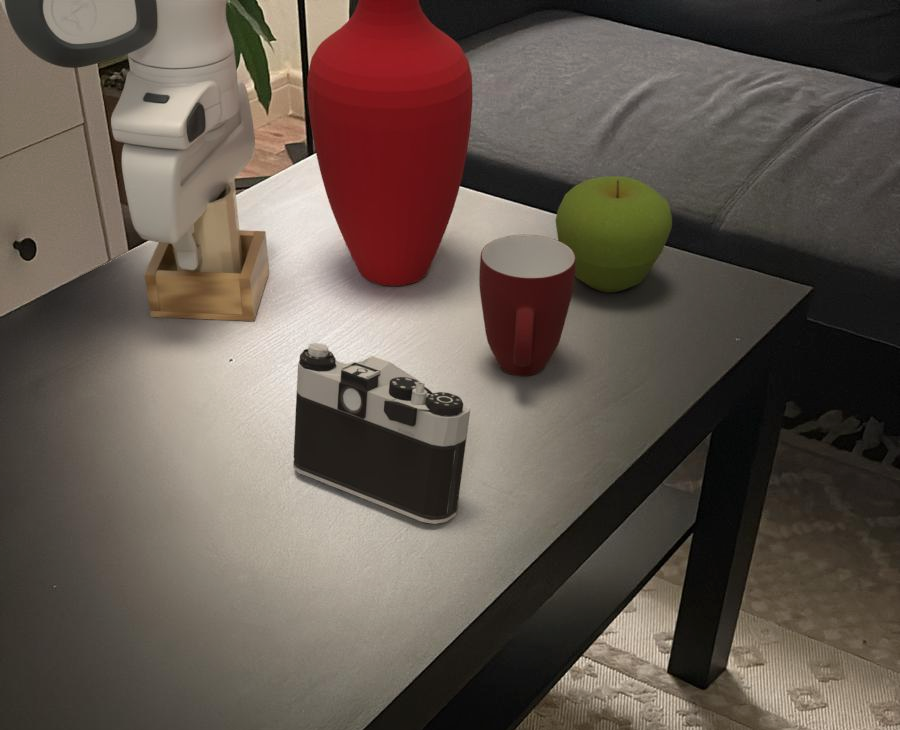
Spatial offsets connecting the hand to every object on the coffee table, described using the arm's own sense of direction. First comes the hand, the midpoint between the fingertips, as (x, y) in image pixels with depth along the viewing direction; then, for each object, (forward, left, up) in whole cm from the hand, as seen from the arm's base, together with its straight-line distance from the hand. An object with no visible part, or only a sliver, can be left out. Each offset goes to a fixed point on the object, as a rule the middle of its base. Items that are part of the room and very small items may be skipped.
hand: (206, 248), depth 119 cm
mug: (+30, -12, -5) cm, 33 cm away
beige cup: (0, 0, -4) cm, 4 cm away
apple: (+38, +5, -5) cm, 39 cm away
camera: (+20, -28, -5) cm, 35 cm away
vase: (+17, +6, -5) cm, 19 cm away
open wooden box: (0, 0, -4) cm, 5 cm away
